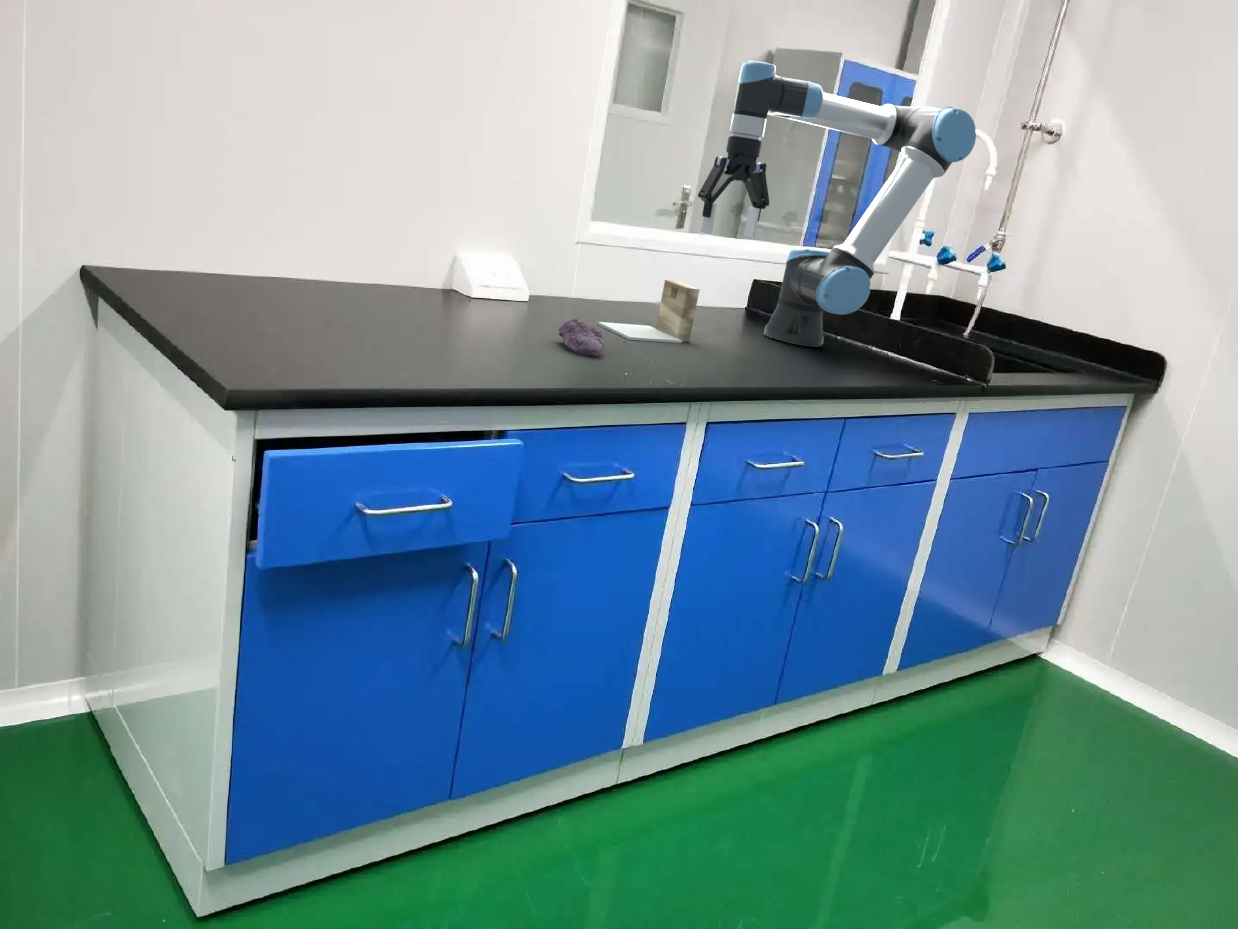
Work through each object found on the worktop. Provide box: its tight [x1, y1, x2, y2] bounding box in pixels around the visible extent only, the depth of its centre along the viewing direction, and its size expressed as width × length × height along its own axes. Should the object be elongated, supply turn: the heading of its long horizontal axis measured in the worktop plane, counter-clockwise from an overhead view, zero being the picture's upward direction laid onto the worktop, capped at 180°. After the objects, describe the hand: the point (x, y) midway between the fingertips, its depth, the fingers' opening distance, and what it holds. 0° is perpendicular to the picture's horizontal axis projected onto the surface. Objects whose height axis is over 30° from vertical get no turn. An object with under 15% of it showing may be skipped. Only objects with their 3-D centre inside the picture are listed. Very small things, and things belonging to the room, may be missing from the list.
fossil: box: [558, 318, 606, 358], centre depth 198 cm, size 8×14×5 cm, turn 25°
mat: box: [597, 321, 683, 344], centre depth 227 cm, size 14×14×1 cm
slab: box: [655, 279, 701, 343], centre depth 230 cm, size 4×9×12 cm, turn 31°
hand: (728, 234), depth 228 cm, fingers open, 13 cm apart
